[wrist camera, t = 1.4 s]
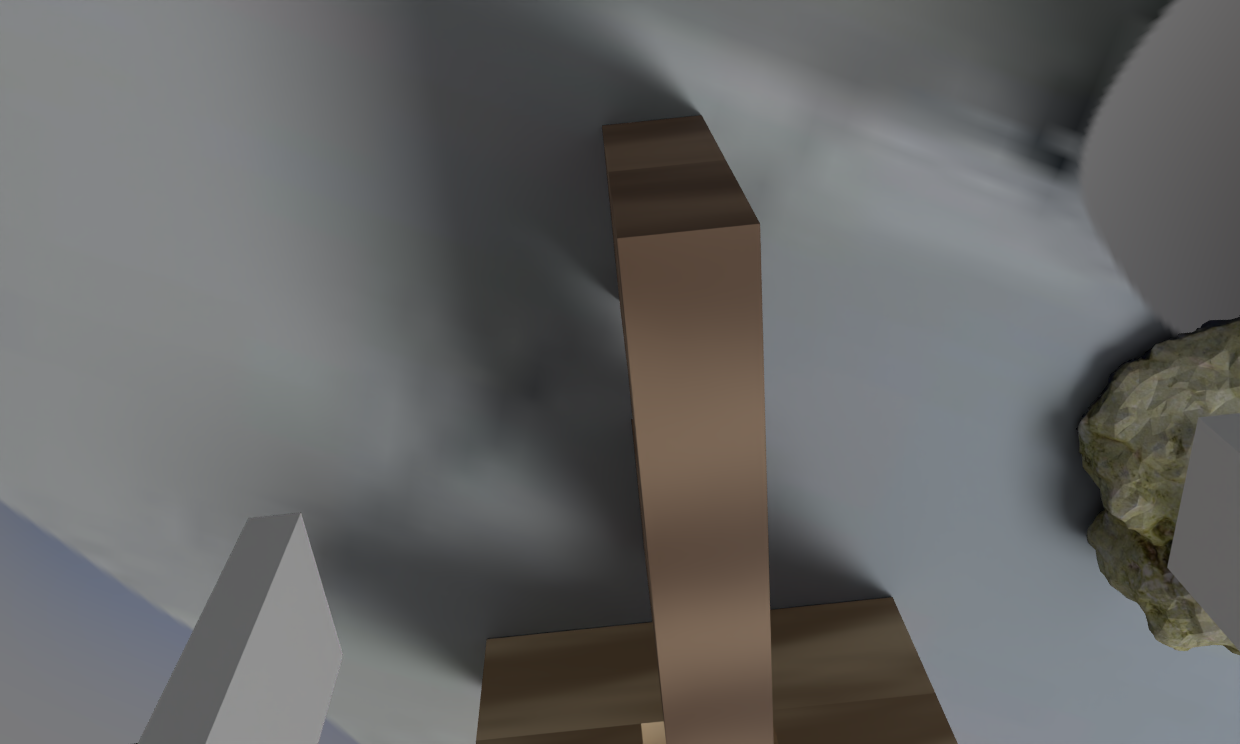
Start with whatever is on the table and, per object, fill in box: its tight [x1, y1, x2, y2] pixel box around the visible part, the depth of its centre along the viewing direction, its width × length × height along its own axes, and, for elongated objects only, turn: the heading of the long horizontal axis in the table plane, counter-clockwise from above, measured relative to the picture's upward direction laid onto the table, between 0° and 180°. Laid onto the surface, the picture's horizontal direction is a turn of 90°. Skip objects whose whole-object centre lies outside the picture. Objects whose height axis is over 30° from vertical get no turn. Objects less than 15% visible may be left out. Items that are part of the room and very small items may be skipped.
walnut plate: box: [602, 115, 774, 744], centre depth 29 cm, size 16×3×10 cm, turn 5°
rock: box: [1076, 317, 1240, 655], centre depth 33 cm, size 11×6×10 cm
